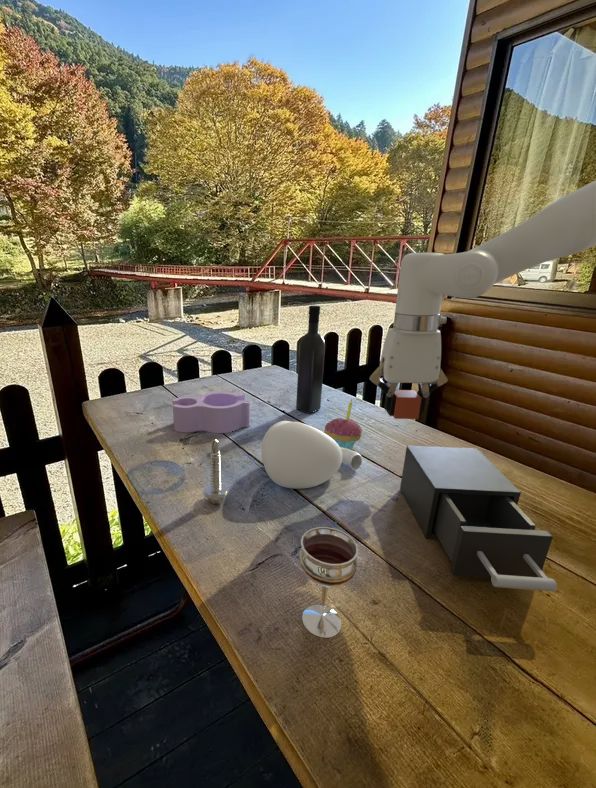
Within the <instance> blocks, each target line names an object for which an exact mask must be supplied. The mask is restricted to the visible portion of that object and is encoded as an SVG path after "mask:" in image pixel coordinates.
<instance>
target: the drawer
mask: <svg viewBox="0 0 596 788" xmlns="http://www.w3.org/2000/svg"><path fill="white" fill-rule="evenodd" d="M536 527H537V525H536V524H535V523H534V522H533V521H532V520H531V518H530V517H529V516H528V515H527V514H526V513H525V512H524V511H523V510H522V509H521V508H520V507H519V505H518V504H517V505H516V504H515V503H514V502H513V500H512V499H511V498H510V497H509V496H497V495H477V494H457V493H439V498H438V502H437V507H436V512H435V517H434V522H433V527H432V528H433V530H434V532H435V533H436V535H437V537H438V539H437V540H438V541H439V542H440V544H441V546H442V548H443V549H444V551H445V553H446V555H447V557H448V558H449V560H450V562H451V564H450V568H449V571H450V573H451V575H452V576H453V577H464V578H477V579H478V578H479V579H490V581H491V584H492V586H493V587H494V588H500V589H501V588H502V589H515V590H516V589H517V590H530V591H541V592H542V591H543V592H556V591H557V590H558V584H557V582H556V580H555V579H554V578H553V577H552V578H551V577H548V576H547V574H545V573H544V571H543V569H544V565H545V563H546V560H547V557H548V554H549V551H550V547H551V546H552V545H551V544H552V541H553V538H554V536H553V535H552V534H551V533H550V531H548V530H538V529H537V530H536Z"/></svg>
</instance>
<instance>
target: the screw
mask: <svg viewBox="0 0 596 788" xmlns="http://www.w3.org/2000/svg"><path fill="white" fill-rule="evenodd" d="M210 443H211V452H210V456H209V457H210V484H209V485H206V486H205V487H204V488H203V490H202V491H203V492H202V493H203V496H204V497H205V498H206V499H208V502H210V503H211V504H212V505H221V504H222V503H223V502H224V499H225V498H227V497H228V496H229V495H230V489H229V487H227V486H226V485H224V484H223V483H222V482H221V481H222V477H221V475H222V471H221V469H222V468H221V451H220V444H219V443H220V442H219V440H218V439H217V438H214V439H212V440H211V441H210Z"/></svg>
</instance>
